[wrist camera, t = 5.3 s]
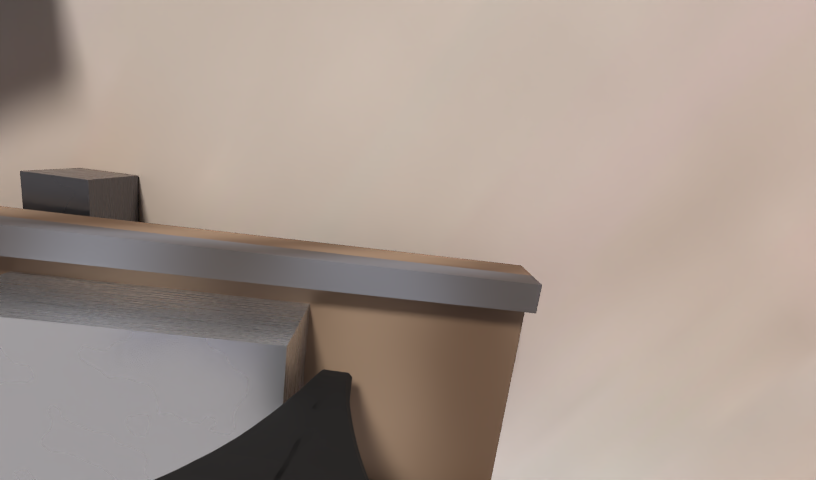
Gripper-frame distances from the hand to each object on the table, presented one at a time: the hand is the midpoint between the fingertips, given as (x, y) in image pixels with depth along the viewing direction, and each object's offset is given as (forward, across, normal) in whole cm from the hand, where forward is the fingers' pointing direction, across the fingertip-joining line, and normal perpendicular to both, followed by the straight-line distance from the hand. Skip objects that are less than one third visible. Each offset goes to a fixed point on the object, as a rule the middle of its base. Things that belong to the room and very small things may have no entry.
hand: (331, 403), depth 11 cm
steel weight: (0, +5, 0) cm, 5 cm away
